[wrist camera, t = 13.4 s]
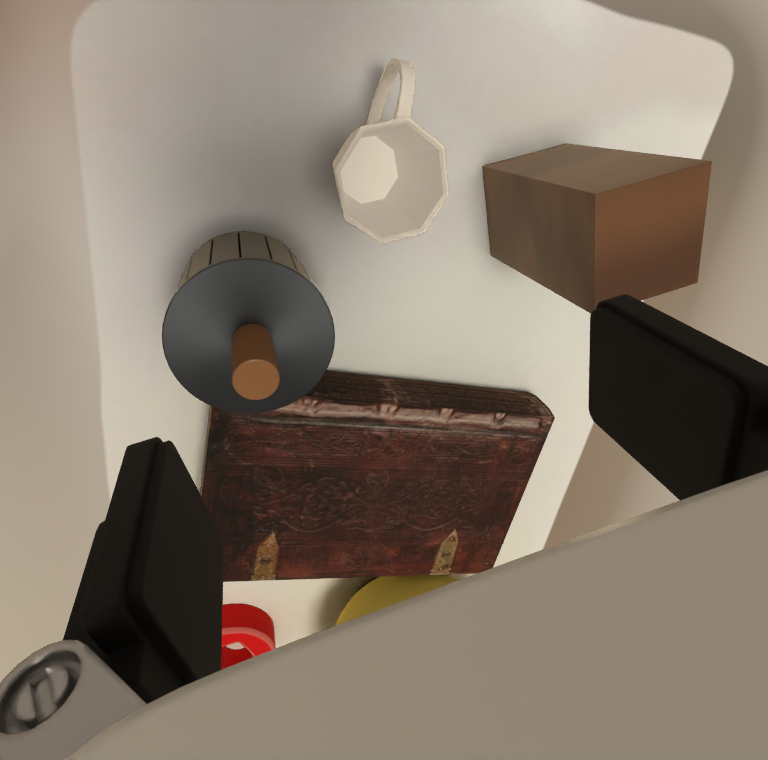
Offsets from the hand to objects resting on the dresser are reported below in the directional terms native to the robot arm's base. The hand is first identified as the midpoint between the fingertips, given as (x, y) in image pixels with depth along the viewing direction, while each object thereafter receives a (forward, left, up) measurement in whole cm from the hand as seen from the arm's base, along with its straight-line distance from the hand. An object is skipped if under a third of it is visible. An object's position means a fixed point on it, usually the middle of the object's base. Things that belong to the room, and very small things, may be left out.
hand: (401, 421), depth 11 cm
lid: (+6, -4, -21) cm, 22 cm away
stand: (+5, +19, -29) cm, 35 cm away
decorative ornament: (+41, -18, -30) cm, 54 cm away
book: (+25, +1, -30) cm, 38 cm away
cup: (-2, +7, -30) cm, 30 cm away
